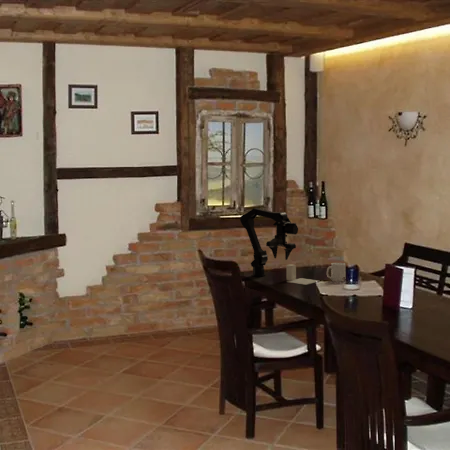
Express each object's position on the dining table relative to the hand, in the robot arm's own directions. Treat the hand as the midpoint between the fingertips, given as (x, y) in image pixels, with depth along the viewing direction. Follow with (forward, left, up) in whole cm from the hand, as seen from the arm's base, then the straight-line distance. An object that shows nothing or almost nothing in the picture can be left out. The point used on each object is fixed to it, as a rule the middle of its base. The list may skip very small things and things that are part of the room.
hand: (280, 259), depth 426 cm
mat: (+17, 0, -12) cm, 21 cm away
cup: (+30, +14, -12) cm, 35 cm away
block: (+8, 0, -12) cm, 14 cm away
